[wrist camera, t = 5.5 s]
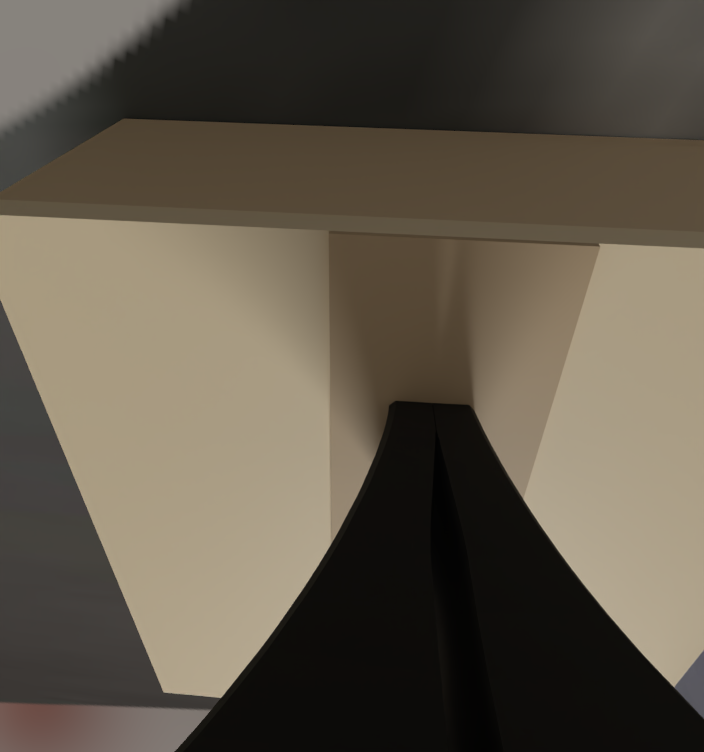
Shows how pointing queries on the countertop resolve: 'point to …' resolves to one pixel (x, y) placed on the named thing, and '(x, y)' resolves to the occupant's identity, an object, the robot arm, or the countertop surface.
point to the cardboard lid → (358, 399)
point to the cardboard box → (382, 174)
